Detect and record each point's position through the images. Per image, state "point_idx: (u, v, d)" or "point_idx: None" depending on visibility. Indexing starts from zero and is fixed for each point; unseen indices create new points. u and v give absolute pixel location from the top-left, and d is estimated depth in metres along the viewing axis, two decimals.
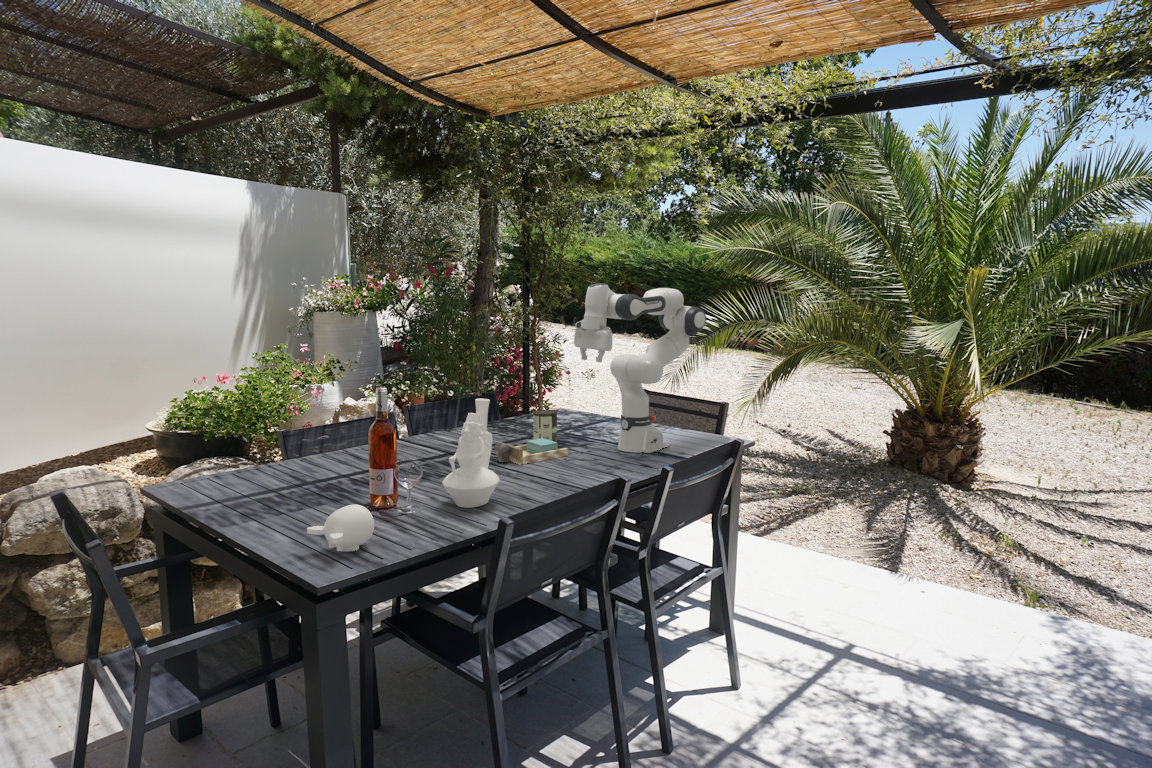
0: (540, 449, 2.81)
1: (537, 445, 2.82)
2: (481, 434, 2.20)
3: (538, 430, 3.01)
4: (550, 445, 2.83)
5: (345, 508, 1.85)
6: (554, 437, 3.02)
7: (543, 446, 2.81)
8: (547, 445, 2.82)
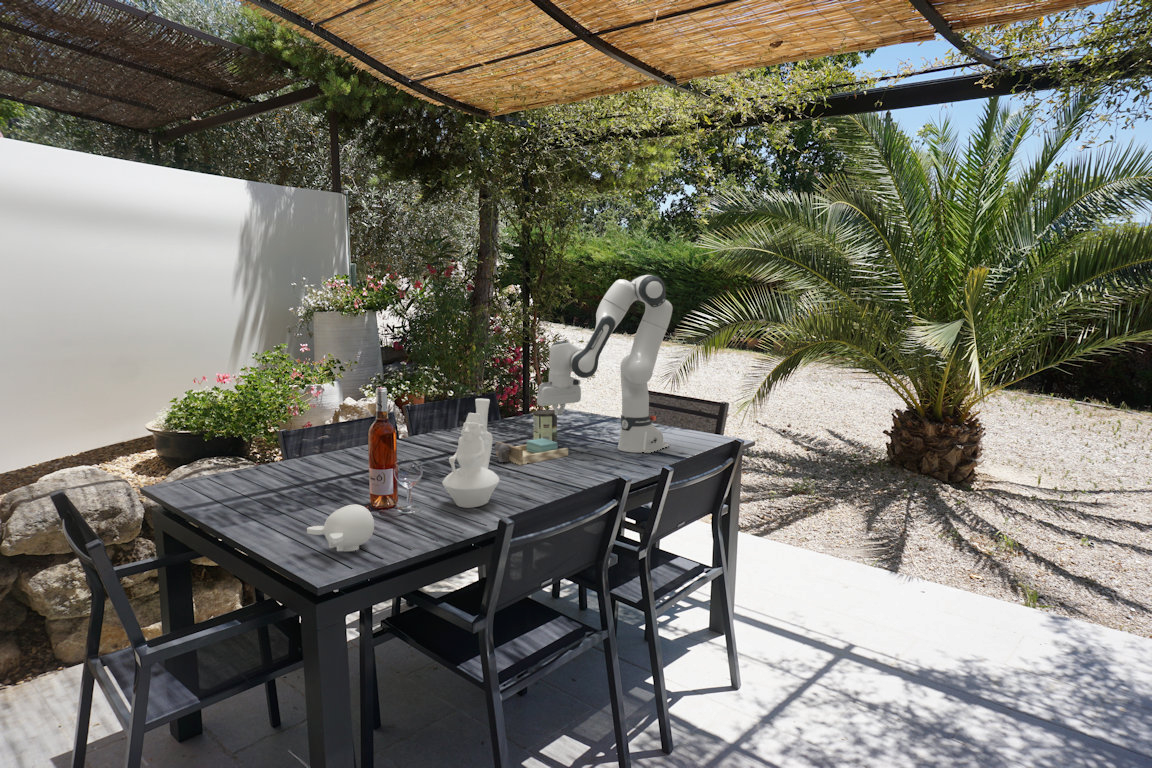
0: (540, 449, 2.81)
1: (537, 445, 2.82)
2: (481, 434, 2.20)
3: (538, 430, 3.01)
4: (550, 445, 2.83)
5: (345, 508, 1.85)
6: (554, 437, 3.02)
7: (543, 446, 2.81)
8: (547, 445, 2.82)
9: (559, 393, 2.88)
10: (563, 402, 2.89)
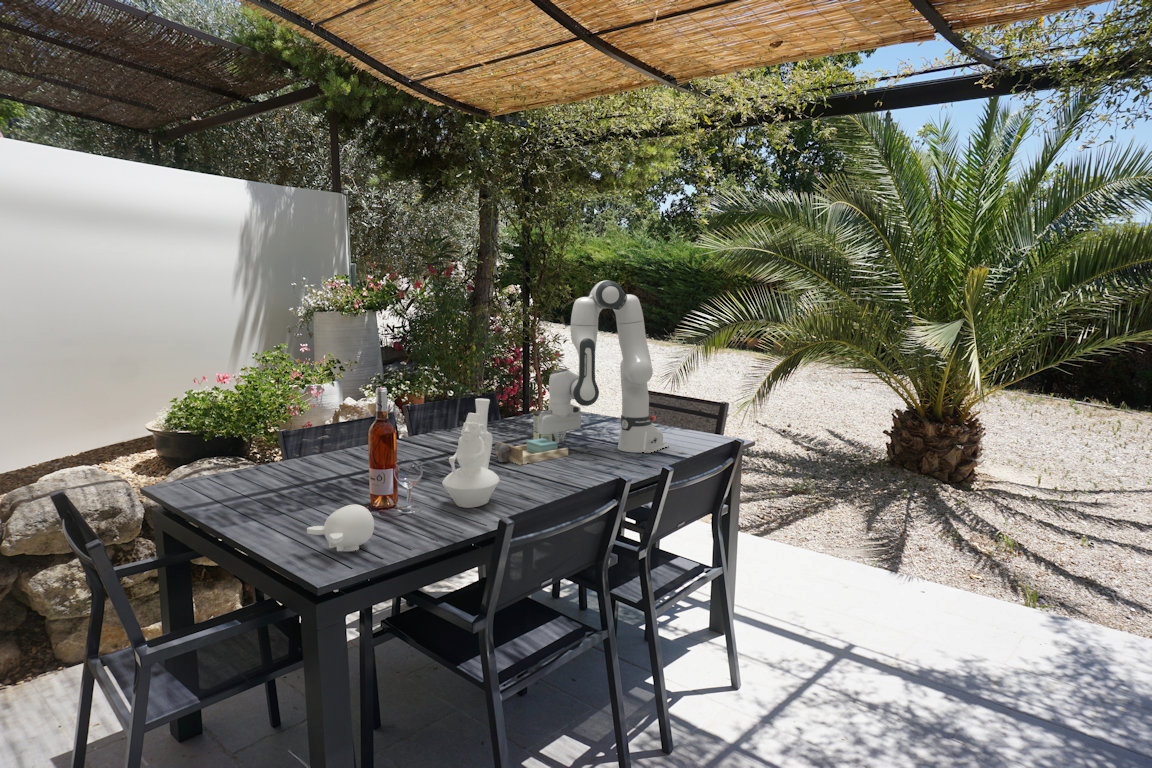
0: (540, 449, 2.81)
1: (537, 445, 2.82)
2: (481, 434, 2.20)
3: None
4: (550, 445, 2.83)
5: (345, 508, 1.85)
6: (554, 437, 3.02)
7: (543, 446, 2.81)
8: (547, 445, 2.82)
9: (559, 421, 2.89)
10: (564, 430, 2.91)
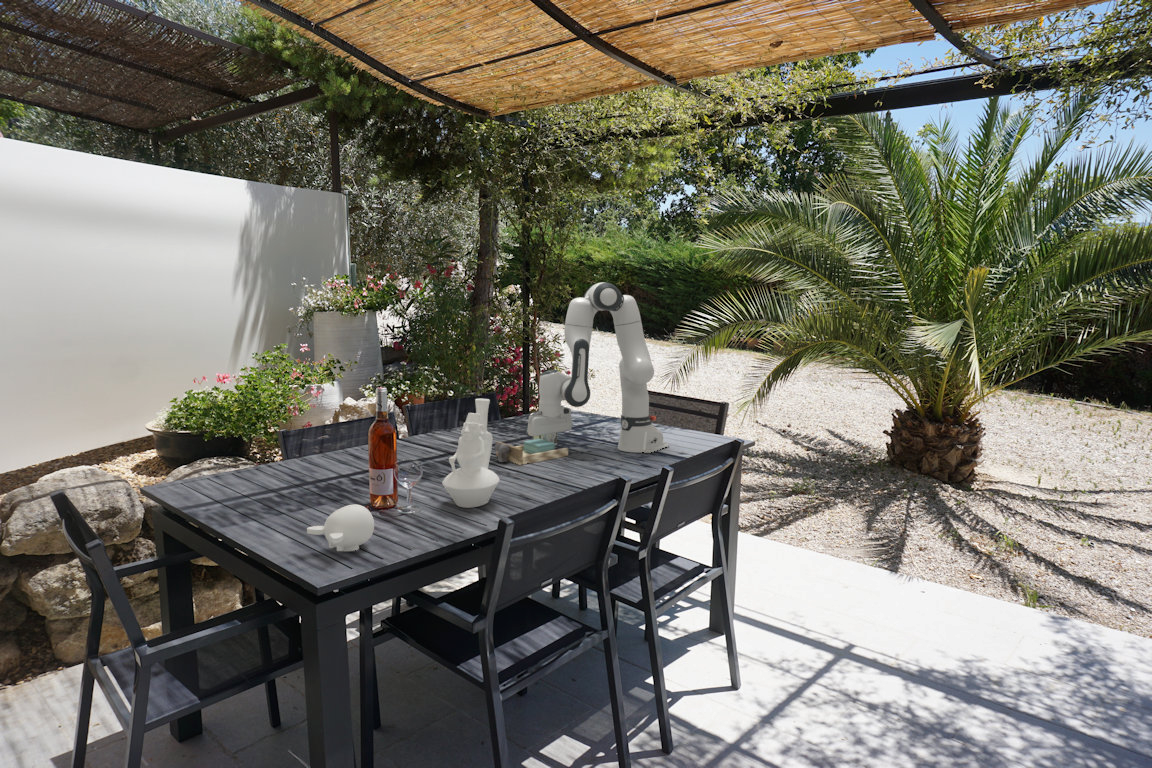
0: (537, 449, 2.80)
1: (534, 446, 2.81)
2: (481, 434, 2.20)
3: None
4: (547, 446, 2.82)
5: (345, 508, 1.85)
6: None
7: (540, 447, 2.80)
8: (544, 446, 2.81)
9: (550, 422, 2.86)
10: (554, 431, 2.88)
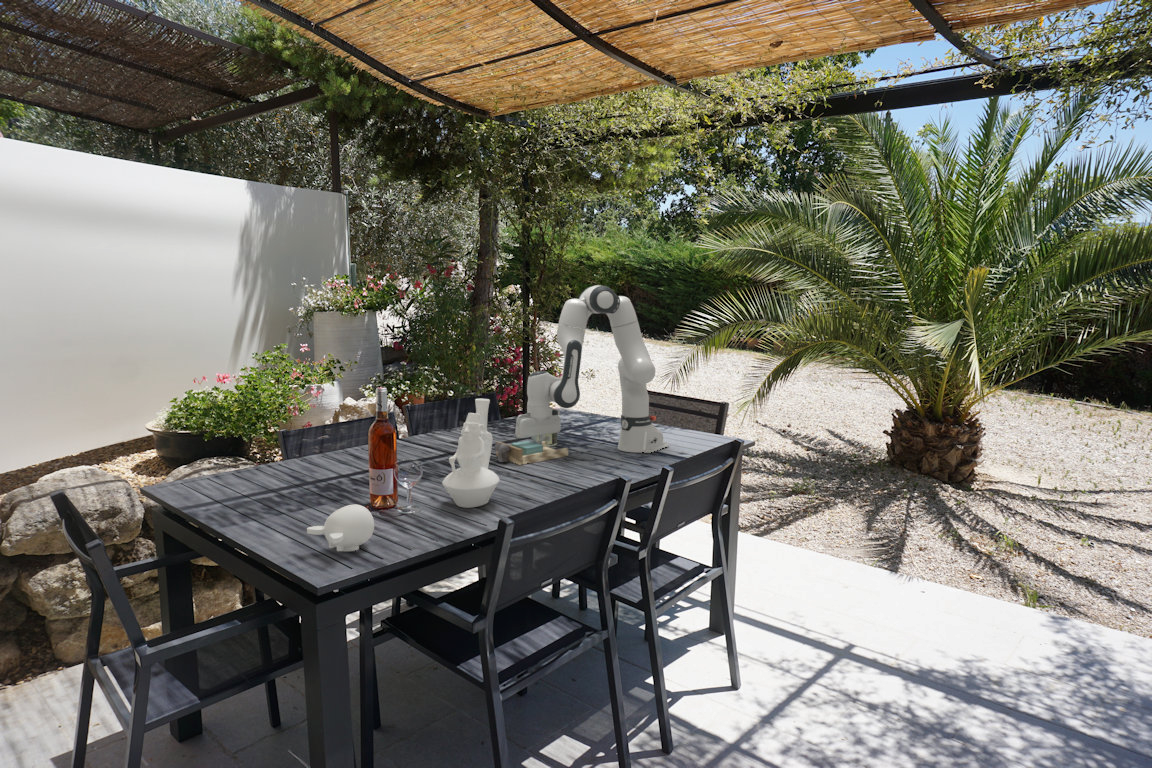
0: (525, 451, 2.76)
1: (522, 448, 2.78)
2: (481, 434, 2.20)
3: None
4: (535, 448, 2.79)
5: (345, 508, 1.85)
6: (554, 437, 3.02)
7: (528, 449, 2.77)
8: (532, 448, 2.78)
9: (538, 424, 2.83)
10: (542, 433, 2.84)
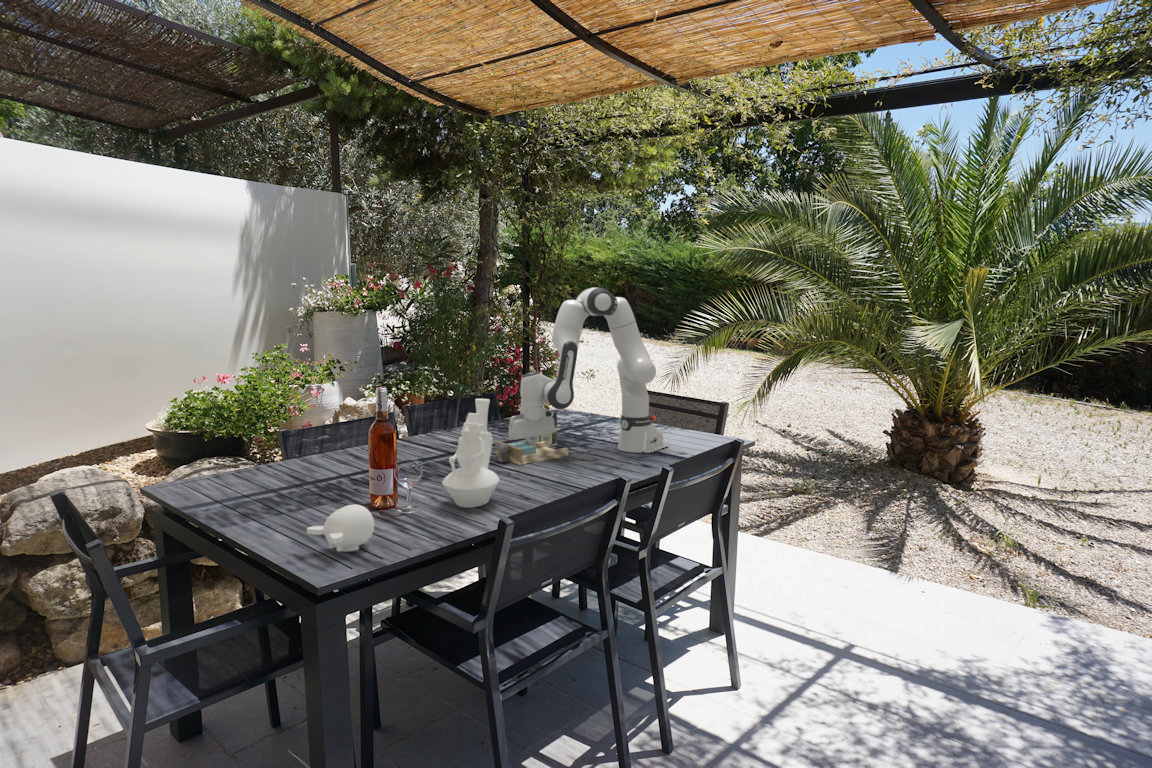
0: None
1: None
2: (481, 434, 2.20)
3: None
4: (528, 449, 2.77)
5: (345, 508, 1.85)
6: (554, 437, 3.02)
7: None
8: (525, 449, 2.76)
9: (531, 425, 2.81)
10: (536, 434, 2.82)
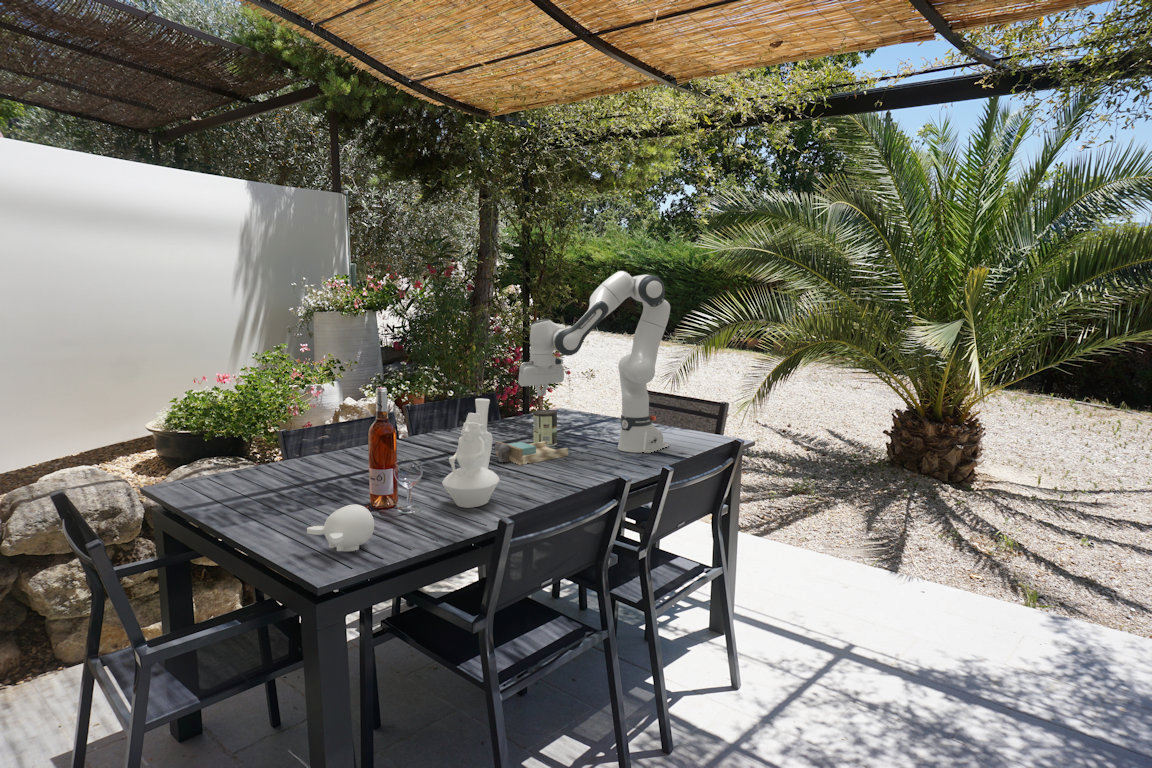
0: None
1: None
2: (481, 434, 2.20)
3: (538, 430, 3.01)
4: (528, 449, 2.77)
5: (345, 508, 1.85)
6: (554, 437, 3.02)
7: None
8: (525, 449, 2.76)
9: (541, 373, 2.81)
10: (546, 382, 2.83)
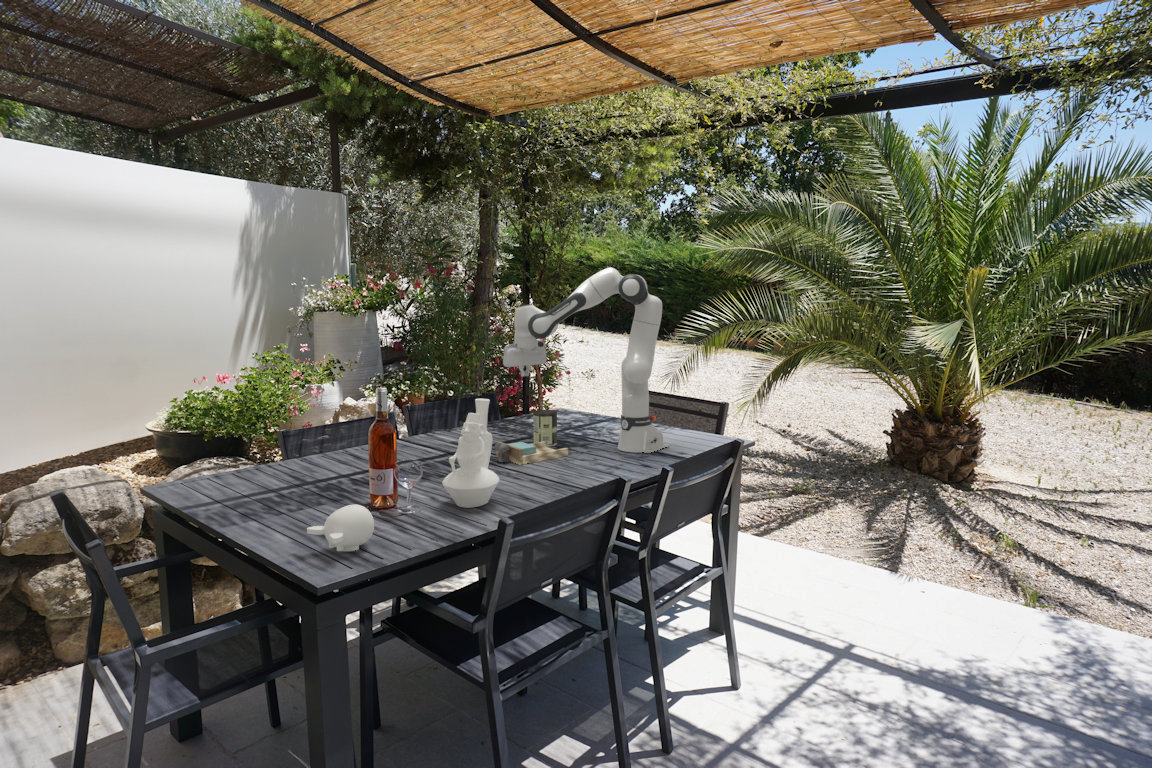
0: None
1: None
2: (481, 434, 2.20)
3: (538, 430, 3.01)
4: (528, 449, 2.77)
5: (345, 508, 1.85)
6: (554, 437, 3.02)
7: None
8: (525, 449, 2.76)
9: (524, 355, 2.99)
10: (529, 363, 3.01)
